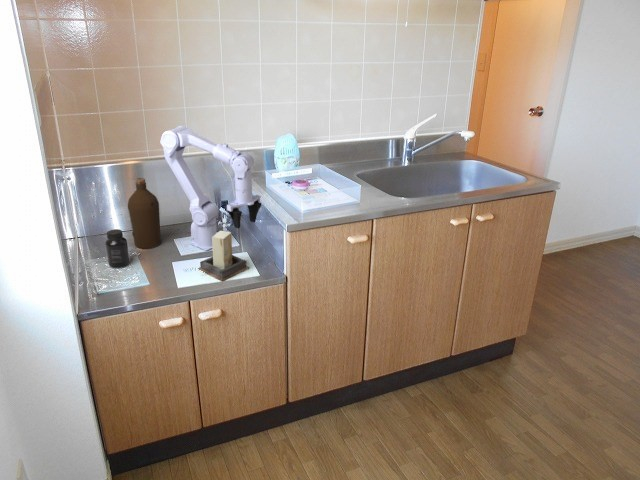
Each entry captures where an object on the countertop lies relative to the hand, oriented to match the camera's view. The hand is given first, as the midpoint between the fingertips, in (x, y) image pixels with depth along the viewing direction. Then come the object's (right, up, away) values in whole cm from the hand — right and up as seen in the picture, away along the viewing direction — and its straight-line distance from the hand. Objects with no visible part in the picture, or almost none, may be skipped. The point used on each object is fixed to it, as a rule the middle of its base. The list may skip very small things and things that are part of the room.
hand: (245, 224), depth 177 cm
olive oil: (-37, -7, +7) cm, 39 cm away
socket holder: (-6, -15, -9) cm, 19 cm away
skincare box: (-6, -15, -9) cm, 19 cm away
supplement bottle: (-42, -14, -8) cm, 45 cm away
